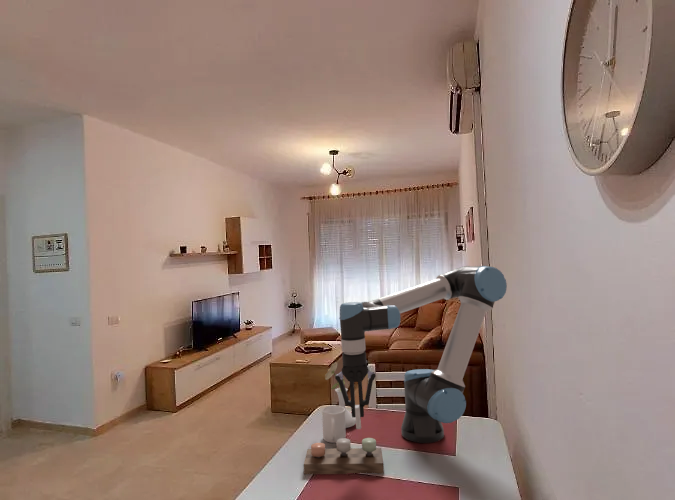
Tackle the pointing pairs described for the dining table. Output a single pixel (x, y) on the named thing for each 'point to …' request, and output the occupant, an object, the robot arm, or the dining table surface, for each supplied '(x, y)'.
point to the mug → (333, 423)
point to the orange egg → (318, 450)
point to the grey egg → (343, 446)
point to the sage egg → (369, 445)
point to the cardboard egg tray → (344, 462)
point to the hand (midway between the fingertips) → (358, 427)
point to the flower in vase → (341, 397)
